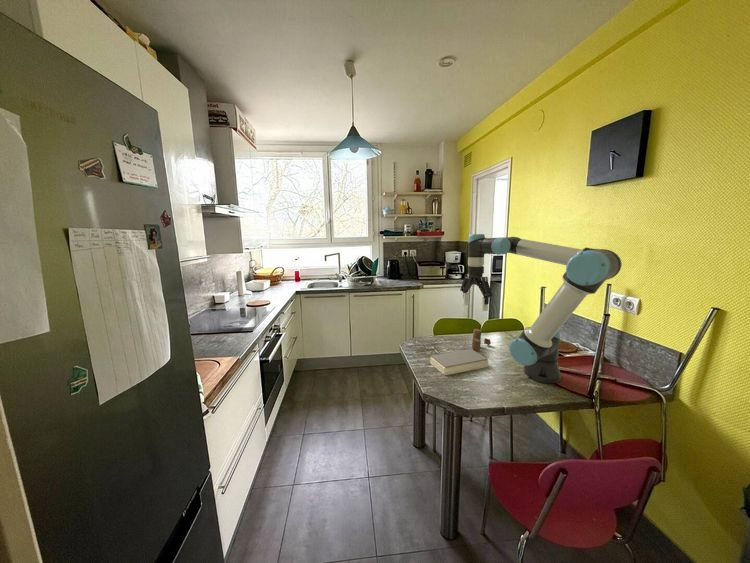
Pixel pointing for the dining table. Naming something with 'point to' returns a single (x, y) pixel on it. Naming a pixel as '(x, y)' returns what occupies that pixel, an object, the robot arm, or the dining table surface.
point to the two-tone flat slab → (458, 361)
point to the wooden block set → (478, 340)
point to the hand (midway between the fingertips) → (475, 307)
